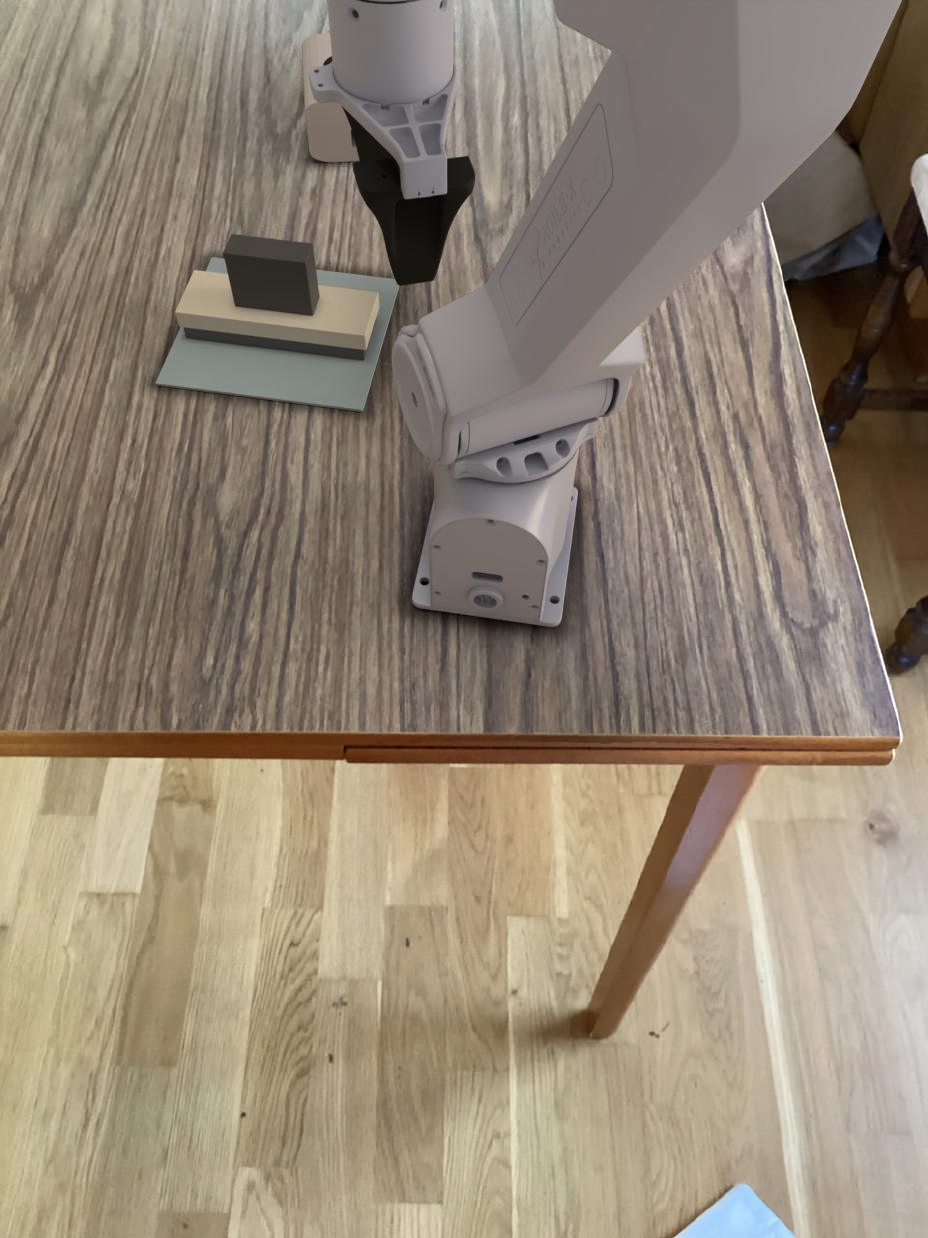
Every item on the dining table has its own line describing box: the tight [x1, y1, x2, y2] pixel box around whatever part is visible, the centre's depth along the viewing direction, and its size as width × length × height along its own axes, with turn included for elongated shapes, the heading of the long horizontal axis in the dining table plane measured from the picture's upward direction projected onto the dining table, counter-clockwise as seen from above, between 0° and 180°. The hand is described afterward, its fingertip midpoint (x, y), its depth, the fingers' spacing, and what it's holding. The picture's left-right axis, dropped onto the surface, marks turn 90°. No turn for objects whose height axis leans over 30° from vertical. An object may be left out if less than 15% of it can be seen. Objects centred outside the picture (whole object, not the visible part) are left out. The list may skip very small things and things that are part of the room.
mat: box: [155, 256, 400, 413], centre depth 66 cm, size 12×13×1 cm
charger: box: [301, 29, 360, 163], centre depth 77 cm, size 5×9×15 cm
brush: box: [174, 233, 379, 360], centre depth 63 cm, size 4×12×6 cm, turn 81°
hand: (400, 233), depth 57 cm, fingers open, 7 cm apart
